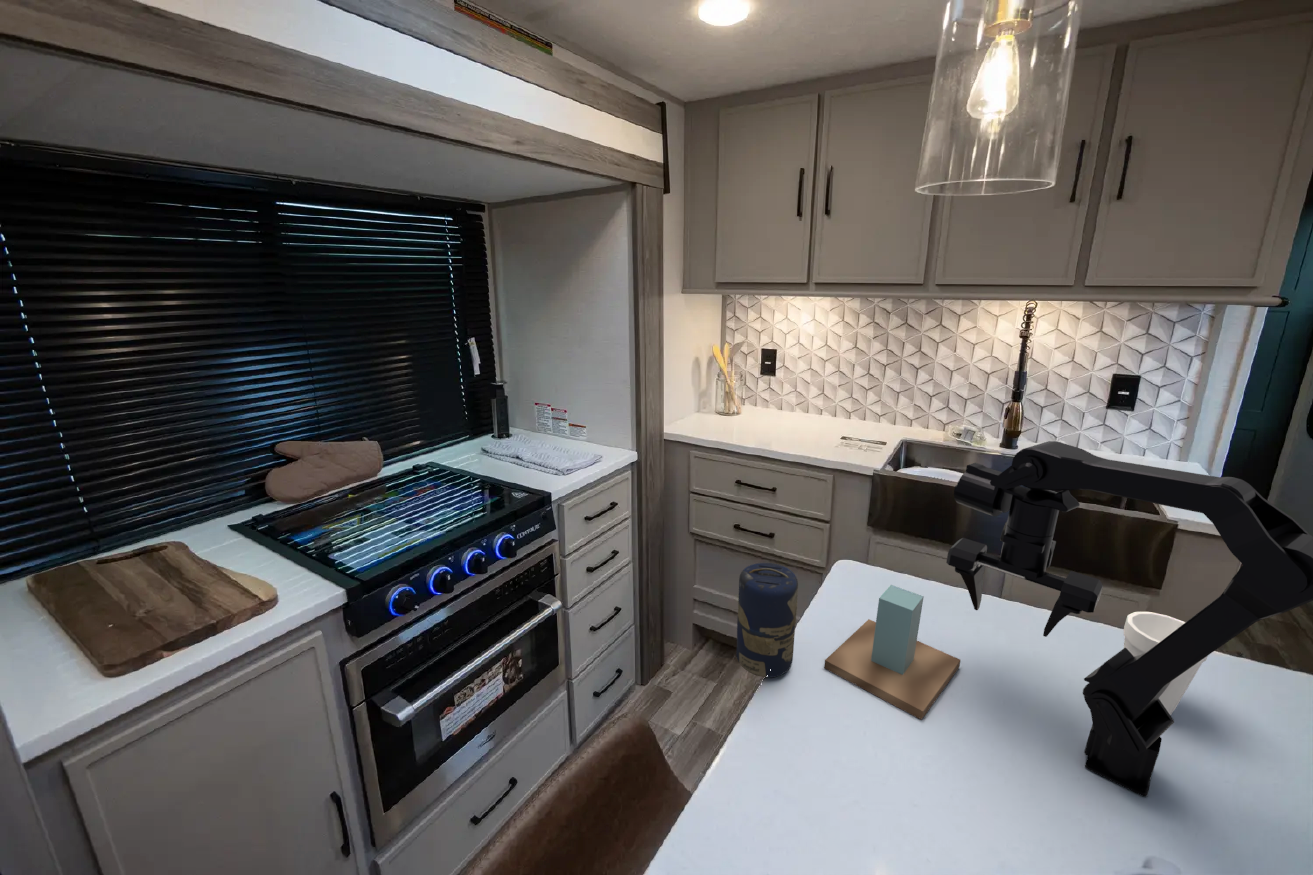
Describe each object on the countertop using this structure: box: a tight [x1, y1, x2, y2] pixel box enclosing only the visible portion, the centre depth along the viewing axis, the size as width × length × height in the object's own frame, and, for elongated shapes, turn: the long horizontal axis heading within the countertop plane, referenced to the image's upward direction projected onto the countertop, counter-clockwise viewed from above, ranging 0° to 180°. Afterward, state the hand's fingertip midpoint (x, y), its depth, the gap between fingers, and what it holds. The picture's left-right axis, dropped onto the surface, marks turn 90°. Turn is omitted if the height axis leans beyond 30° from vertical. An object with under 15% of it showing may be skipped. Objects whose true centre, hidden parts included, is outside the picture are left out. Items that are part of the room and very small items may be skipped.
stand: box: [823, 618, 961, 721], centre depth 95 cm, size 16×16×5 cm
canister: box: [735, 562, 799, 678], centre depth 94 cm, size 10×10×18 cm
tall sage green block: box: [871, 584, 925, 675], centre depth 93 cm, size 5×5×12 cm
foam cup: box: [1123, 611, 1209, 716], centre depth 86 cm, size 10×9×13 cm
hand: (1009, 621), depth 86 cm, fingers open, 9 cm apart
